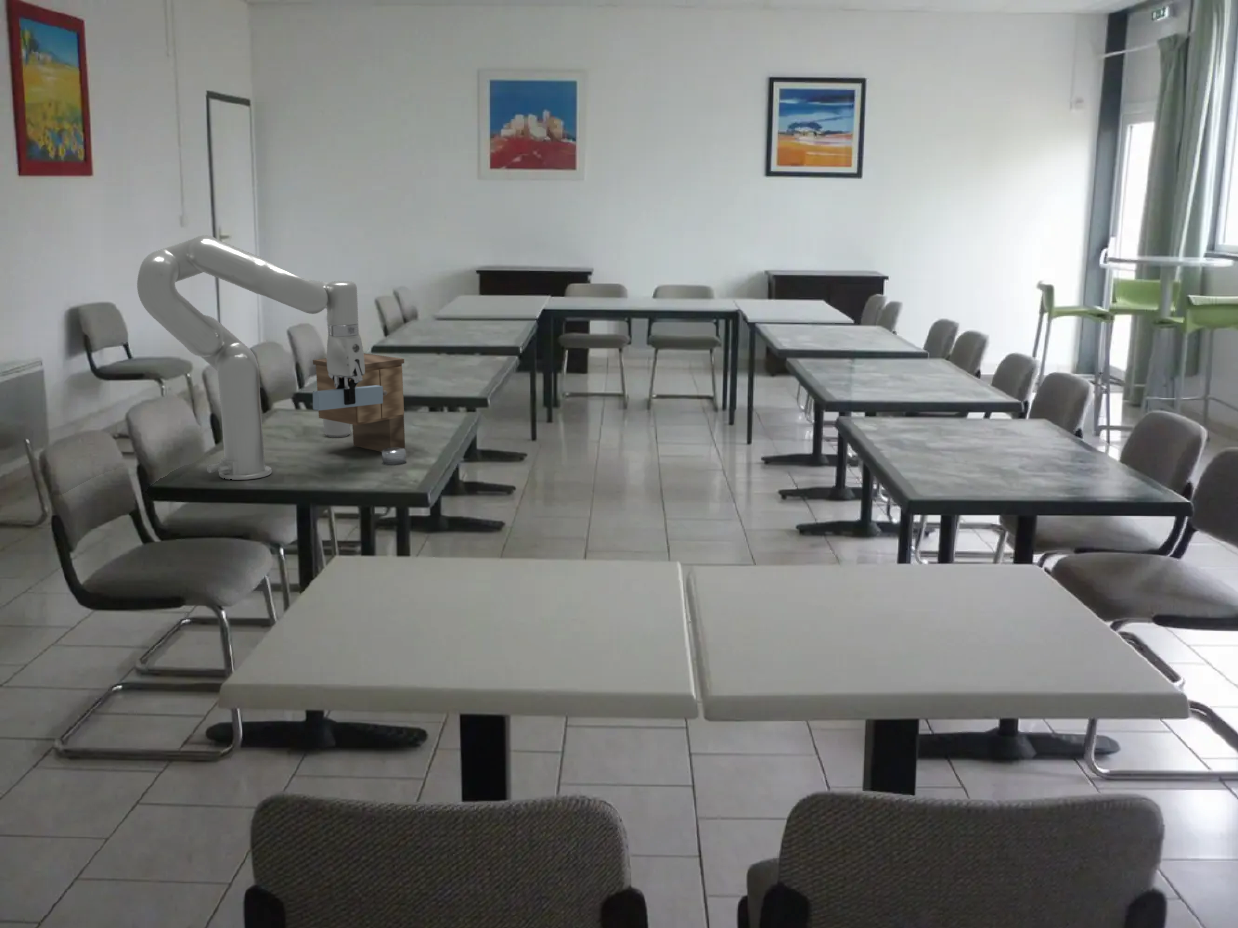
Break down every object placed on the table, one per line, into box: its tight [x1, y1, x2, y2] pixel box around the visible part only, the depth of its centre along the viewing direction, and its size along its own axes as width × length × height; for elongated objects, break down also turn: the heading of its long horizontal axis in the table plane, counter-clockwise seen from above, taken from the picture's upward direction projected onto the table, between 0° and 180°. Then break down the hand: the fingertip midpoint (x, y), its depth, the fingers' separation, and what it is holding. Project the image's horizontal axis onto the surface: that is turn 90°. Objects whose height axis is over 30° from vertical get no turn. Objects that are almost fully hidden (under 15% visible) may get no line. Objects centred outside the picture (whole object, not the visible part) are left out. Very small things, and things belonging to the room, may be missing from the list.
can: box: [322, 419, 352, 439], centre depth 355 cm, size 8×8×12 cm
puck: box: [381, 447, 407, 466], centre depth 322 cm, size 6×6×4 cm
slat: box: [312, 385, 383, 411], centre depth 313 cm, size 20×2×4 cm, turn 140°
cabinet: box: [312, 352, 406, 453], centre depth 332 cm, size 17×18×25 cm
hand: (346, 403), depth 313 cm, fingers closed on slat, 2 cm apart
